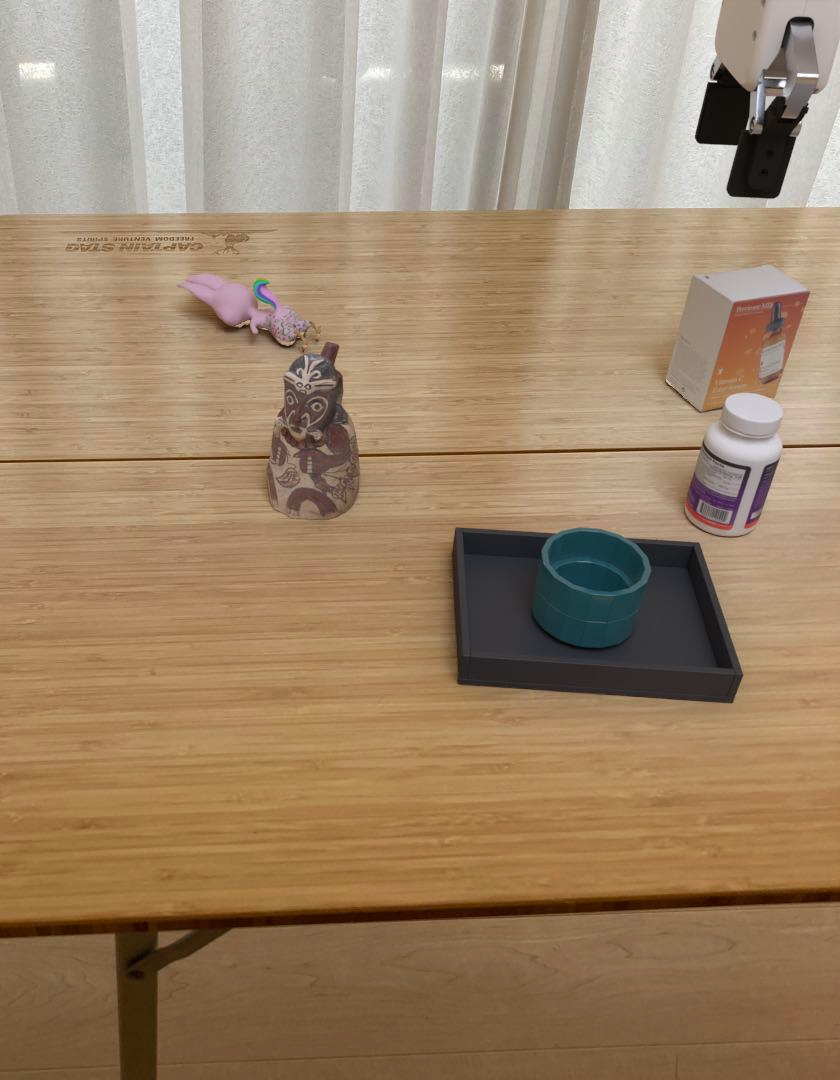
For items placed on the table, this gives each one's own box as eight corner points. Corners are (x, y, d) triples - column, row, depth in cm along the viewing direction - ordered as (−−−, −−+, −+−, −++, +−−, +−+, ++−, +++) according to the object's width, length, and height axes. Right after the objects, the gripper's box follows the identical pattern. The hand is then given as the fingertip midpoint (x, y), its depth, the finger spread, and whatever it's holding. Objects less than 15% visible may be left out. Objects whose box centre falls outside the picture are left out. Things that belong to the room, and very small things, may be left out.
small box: (699, 414, 96) (731, 302, 89) (662, 382, 100) (690, 273, 93) (776, 400, 98) (813, 289, 91) (737, 369, 102) (770, 261, 95)
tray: (691, 569, 79) (699, 542, 78) (733, 703, 69) (743, 675, 67) (451, 554, 80) (455, 526, 78) (458, 684, 70) (462, 655, 68)
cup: (625, 587, 77) (640, 530, 73) (641, 657, 71) (659, 598, 68) (526, 581, 77) (537, 524, 74) (535, 649, 72) (547, 591, 68)
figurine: (246, 496, 85) (245, 357, 77) (302, 455, 89) (306, 320, 82) (322, 532, 81) (328, 390, 74) (376, 488, 86) (387, 350, 79)
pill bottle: (735, 493, 86) (771, 384, 80) (770, 535, 82) (810, 424, 76) (670, 498, 86) (701, 389, 80) (702, 542, 82) (737, 430, 76)
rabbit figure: (326, 346, 106) (197, 285, 111) (337, 292, 102) (204, 230, 106) (292, 373, 102) (160, 309, 106) (303, 318, 98) (165, 253, 102)
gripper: (937, -103, 56) (829, 222, 67) (834, -148, 70) (758, 128, 80) (786, -108, 57) (703, 216, 67) (713, -153, 70) (653, 123, 81)
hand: (733, 168), depth 74 cm, fingers open, 9 cm apart
